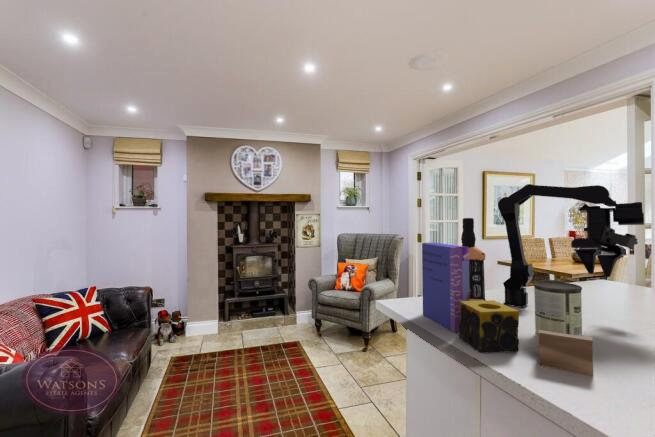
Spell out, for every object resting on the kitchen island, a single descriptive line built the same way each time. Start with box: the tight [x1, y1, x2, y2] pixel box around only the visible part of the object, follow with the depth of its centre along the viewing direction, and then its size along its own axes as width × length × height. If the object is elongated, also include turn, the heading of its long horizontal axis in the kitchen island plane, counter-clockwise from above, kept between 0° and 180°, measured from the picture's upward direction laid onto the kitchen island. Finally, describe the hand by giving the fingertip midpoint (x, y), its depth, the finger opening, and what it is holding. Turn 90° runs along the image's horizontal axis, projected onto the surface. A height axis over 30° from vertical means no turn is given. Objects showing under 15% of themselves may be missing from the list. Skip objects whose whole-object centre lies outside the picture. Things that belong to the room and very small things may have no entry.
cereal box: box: [421, 242, 470, 334], centre depth 97 cm, size 17×5×24 cm, turn 12°
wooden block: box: [537, 330, 594, 376], centre depth 70 cm, size 8×9×7 cm
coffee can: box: [533, 280, 583, 338], centre depth 84 cm, size 10×10×14 cm
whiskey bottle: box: [460, 217, 487, 301], centre depth 114 cm, size 10×10×32 cm
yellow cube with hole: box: [458, 299, 520, 354], centre depth 80 cm, size 10×10×10 cm
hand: (599, 275), depth 97 cm, fingers open, 9 cm apart
